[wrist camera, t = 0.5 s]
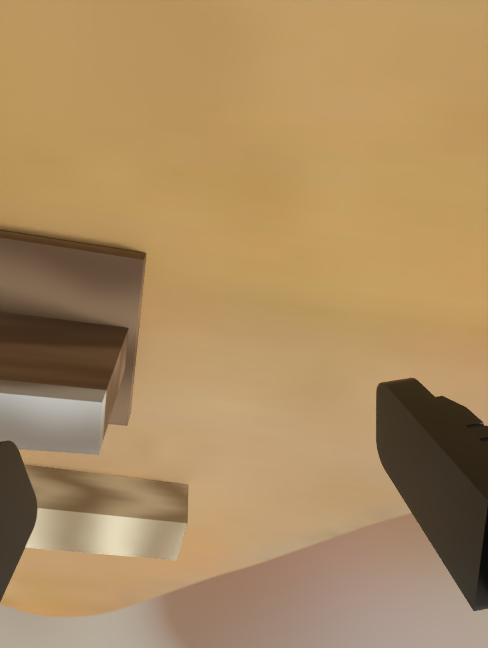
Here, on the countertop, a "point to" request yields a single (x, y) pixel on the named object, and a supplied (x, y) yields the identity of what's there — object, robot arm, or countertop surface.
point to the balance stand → (66, 341)
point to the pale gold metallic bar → (107, 514)
